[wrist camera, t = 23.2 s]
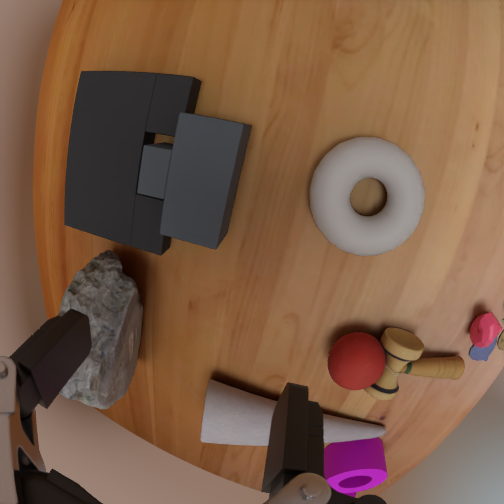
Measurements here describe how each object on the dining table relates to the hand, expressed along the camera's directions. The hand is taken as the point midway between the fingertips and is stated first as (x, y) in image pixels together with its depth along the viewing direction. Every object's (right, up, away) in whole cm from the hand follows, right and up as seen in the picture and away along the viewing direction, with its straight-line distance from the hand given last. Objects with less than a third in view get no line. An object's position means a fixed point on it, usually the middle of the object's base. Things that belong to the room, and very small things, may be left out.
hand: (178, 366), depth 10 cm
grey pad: (-2, +11, +15) cm, 19 cm away
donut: (+12, +9, +14) cm, 21 cm away
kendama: (+20, -7, +20) cm, 29 cm away
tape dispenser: (+19, -30, +30) cm, 46 cm away
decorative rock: (-11, -2, +23) cm, 25 cm away
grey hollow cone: (+10, -16, +25) cm, 31 cm away
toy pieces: (+33, -5, +17) cm, 38 cm away
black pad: (-9, +13, +16) cm, 23 cm away
